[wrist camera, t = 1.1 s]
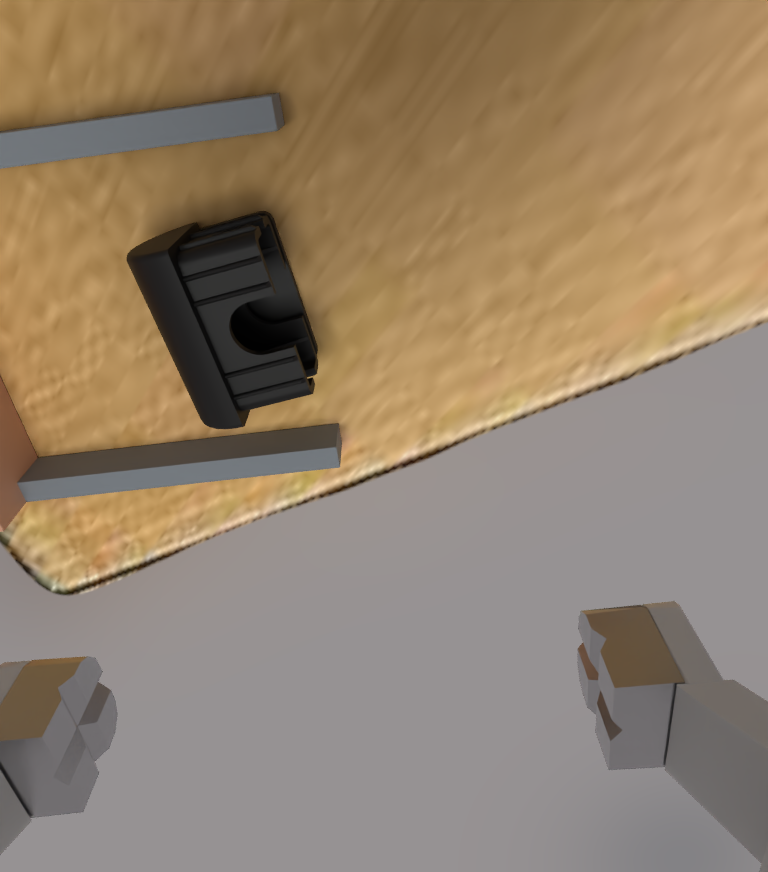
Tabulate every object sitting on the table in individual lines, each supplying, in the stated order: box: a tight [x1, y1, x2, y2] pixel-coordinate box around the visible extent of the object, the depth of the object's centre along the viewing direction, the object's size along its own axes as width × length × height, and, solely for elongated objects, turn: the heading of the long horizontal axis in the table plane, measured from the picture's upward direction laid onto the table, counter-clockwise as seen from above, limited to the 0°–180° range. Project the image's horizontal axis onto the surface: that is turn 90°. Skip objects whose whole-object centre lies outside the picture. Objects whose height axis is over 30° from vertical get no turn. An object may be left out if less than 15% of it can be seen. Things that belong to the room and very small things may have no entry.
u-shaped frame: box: [0, 93, 342, 532], centre depth 37 cm, size 21×22×6 cm
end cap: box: [127, 211, 318, 429], centre depth 36 cm, size 10×7×7 cm
